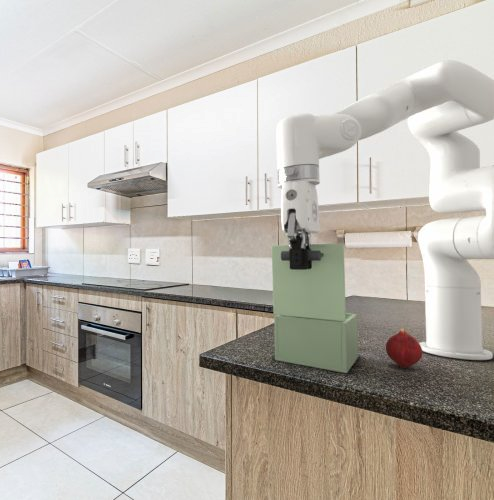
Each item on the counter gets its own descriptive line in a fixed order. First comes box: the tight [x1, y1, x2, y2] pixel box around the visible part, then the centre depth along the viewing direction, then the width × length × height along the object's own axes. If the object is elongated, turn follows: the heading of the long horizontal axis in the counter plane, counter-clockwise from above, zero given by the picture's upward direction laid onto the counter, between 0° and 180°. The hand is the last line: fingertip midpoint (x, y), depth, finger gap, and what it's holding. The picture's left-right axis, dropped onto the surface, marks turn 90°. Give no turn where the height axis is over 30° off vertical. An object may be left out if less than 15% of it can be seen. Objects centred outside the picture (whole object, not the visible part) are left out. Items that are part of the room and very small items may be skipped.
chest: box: [273, 312, 359, 374], centre depth 78 cm, size 15×14×10 cm
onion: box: [385, 328, 423, 369], centre depth 71 cm, size 6×6×8 cm
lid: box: [271, 243, 347, 321], centre depth 71 cm, size 15×14×5 cm
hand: (300, 268), depth 70 cm, fingers closed, pressing on lid
